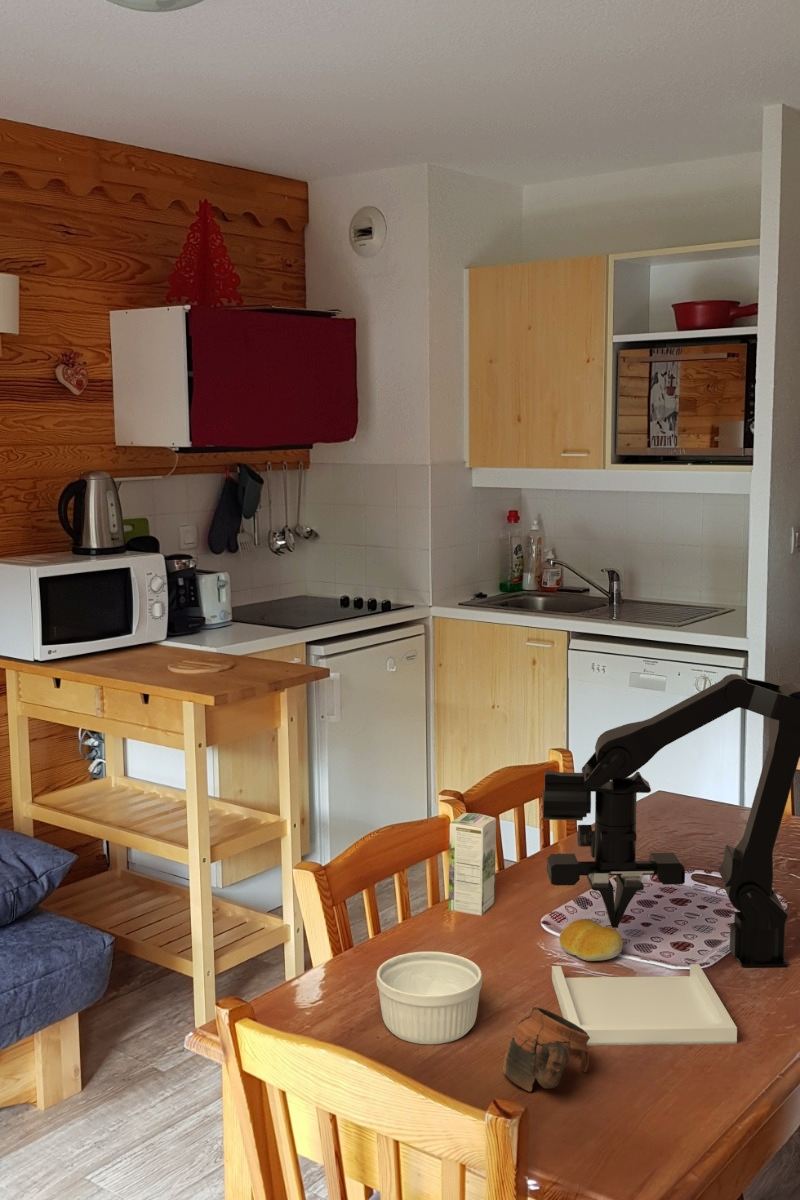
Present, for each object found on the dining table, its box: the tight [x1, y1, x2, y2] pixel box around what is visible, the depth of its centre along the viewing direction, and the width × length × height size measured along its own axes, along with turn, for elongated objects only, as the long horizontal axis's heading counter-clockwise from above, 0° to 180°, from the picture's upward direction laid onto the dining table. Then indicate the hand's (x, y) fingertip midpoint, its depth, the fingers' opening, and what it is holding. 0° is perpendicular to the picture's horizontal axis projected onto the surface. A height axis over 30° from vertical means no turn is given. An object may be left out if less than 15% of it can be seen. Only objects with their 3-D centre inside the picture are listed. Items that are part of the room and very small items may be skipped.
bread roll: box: [558, 918, 624, 962], centre depth 171 cm, size 8×9×4 cm
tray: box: [551, 963, 738, 1047], centre depth 154 cm, size 20×18×2 cm
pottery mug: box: [502, 1006, 590, 1093], centre depth 137 cm, size 12×9×8 cm
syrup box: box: [448, 812, 497, 917], centre depth 188 cm, size 6×6×14 cm
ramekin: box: [376, 951, 483, 1045], centre depth 150 cm, size 13×13×7 cm
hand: (614, 926), depth 171 cm, fingers closed
